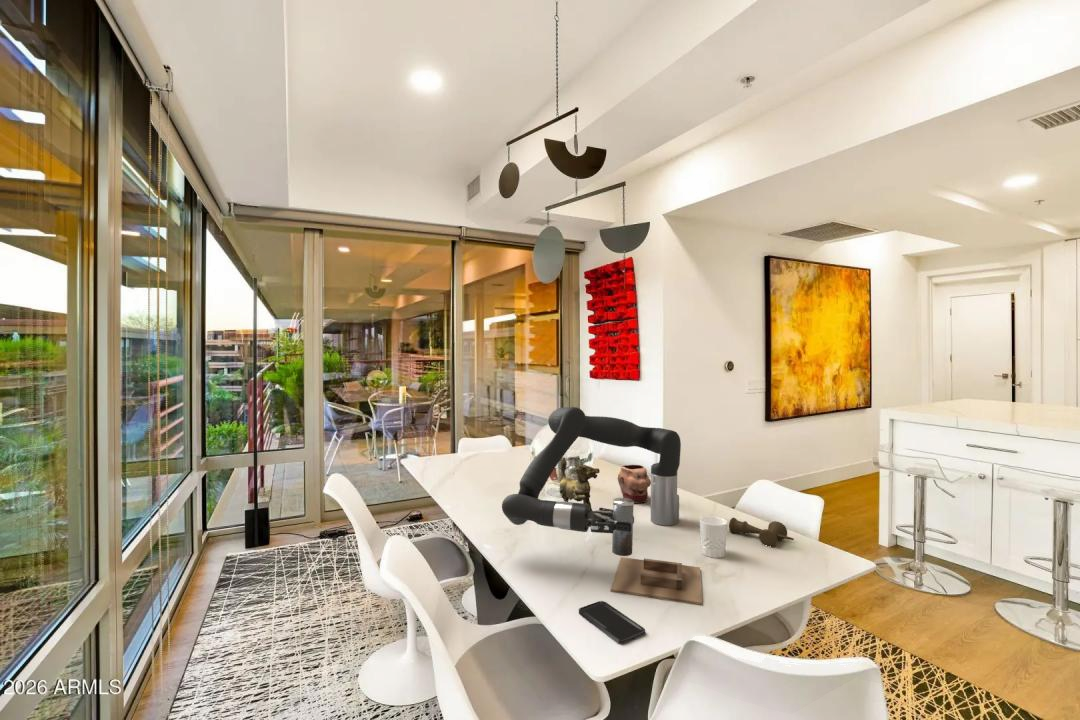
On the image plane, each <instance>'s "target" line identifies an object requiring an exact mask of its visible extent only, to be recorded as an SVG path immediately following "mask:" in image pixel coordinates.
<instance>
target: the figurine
mask: <svg viewBox="0 0 1080 720" xmlns="http://www.w3.org/2000/svg"><path fill="white" fill-rule="evenodd" d="M560 461H561V463H560V473H561V478H562V479H561V481H560V482H559V488H558V490H559V494H560V496H561V498H562V500H563V502H569V501H572V500H574V501H576V502H582V503H583V504H588V505H589V506H590V510H591V511H593V509H592V505H591V504H592V503H591V501H590V498H591V494H590V493H591V484H590V482H589V480H590V479H592V478H593V479H597V478H598V474H599V473H601V472H600V468H598V467H597V468H595V467H592V466H590V465H585V464H583V463H582V464H579V465H578V466H576V468H574V470H575V474H576V479H577V481H576V480H574V479H573V478H571V477H569V476H568V477H567V476H566V469H567V464H568V462H567V459H566V458H565V457H562V458H561V460H560Z"/></svg>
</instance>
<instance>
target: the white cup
mask: <svg viewBox="0 0 1080 720" xmlns="http://www.w3.org/2000/svg"><path fill="white" fill-rule="evenodd" d="M727 532H728V521H727V520H726V519H724V518H722V517H718V516H712V515H711V516H710V515H706V516H701V517H700V518H699V535H700V536H699V537H700V551H701V553H702V555H704V556H707V557H709V558H714V559H720V558H724V557H725V555H726V547H727V536H728V533H727Z"/></svg>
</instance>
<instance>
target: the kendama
mask: <svg viewBox="0 0 1080 720" xmlns="http://www.w3.org/2000/svg"><path fill="white" fill-rule="evenodd" d="M767 526H768V527H767V529H766V528H764V529H761V528H759V527H756V526H754V525H751V524H749V523H748V521H746V520H745V521H741V520H738V519H737V518H735V517H732V518H731V519H729V522H728V530H729V533H731V532H734V533H741V535H743V536H744V535H747V534H754V535H755V534H756V535H758V538H759V541H760V543H761V544H762V545H763V544H764V545H763V546H765V545H767V546H766V547H768V546H771V547H770V548H775V547H776V546H777V545H778V541H784V540H788V541H789V540H790V541H794V540H795V538H794V537H790V536H788V528H787V527H786V525H784V524H783V523H782V522H779V521H772V522H769V524H768V525H767ZM777 539H778V540H777Z"/></svg>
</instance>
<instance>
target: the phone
mask: <svg viewBox="0 0 1080 720" xmlns="http://www.w3.org/2000/svg"><path fill="white" fill-rule="evenodd" d="M578 614H579V615H580V616H581V617H582V618H583V619H585V620H586V621H587V622H589V623H590V624H591V625H592V626H594V627H595V628H596V629H598V630H599V631H600V632H602V633H603V634H605V635H606V636H607V637H608V638H610V639H611V640H612V641H613V642H614V643H616V644H618V645H626V644H628V643H630V642H633V641H634V640H637V639H640V638H642V637H644V636H645V635H646V629H645V628H644V627H643V626H642V625H641V624H639V623H637V622H636V621H635V620H633V619H632V618H630V617H628V616H627V615H625V614H624V613H622V612H621V611H619V610H618V609H616V608H615V607H614V606H612V605H611V604H609V603H608V602H606V601H605V600H604V601H603V600H599V601H595V602H593V603H590V604H587V605H584V606H581V607H579V608H578Z"/></svg>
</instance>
